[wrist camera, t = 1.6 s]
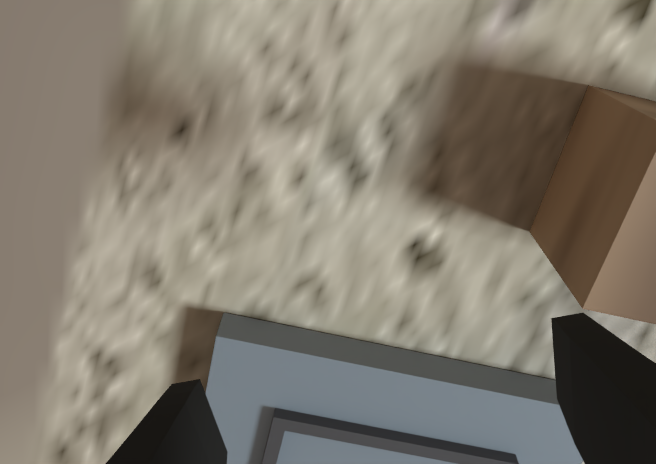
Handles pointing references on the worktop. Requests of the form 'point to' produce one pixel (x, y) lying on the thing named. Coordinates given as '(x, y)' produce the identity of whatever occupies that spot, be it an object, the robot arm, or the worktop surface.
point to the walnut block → (605, 207)
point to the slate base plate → (373, 403)
